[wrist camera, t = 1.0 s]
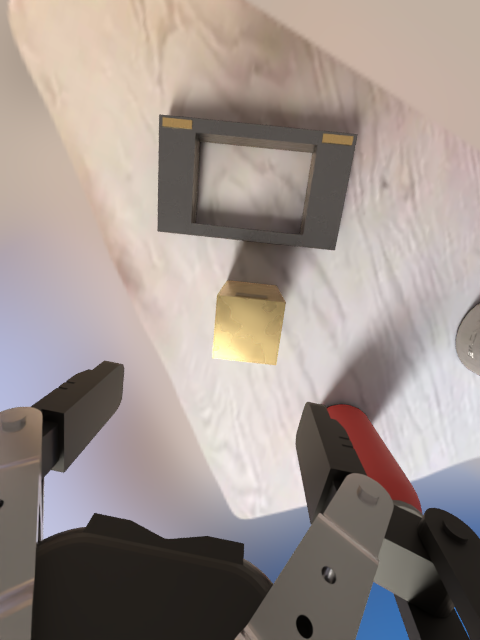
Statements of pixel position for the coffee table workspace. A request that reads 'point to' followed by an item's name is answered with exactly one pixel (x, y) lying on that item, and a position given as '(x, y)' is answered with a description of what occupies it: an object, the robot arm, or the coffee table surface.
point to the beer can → (376, 457)
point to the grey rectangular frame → (326, 147)
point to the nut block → (248, 322)
